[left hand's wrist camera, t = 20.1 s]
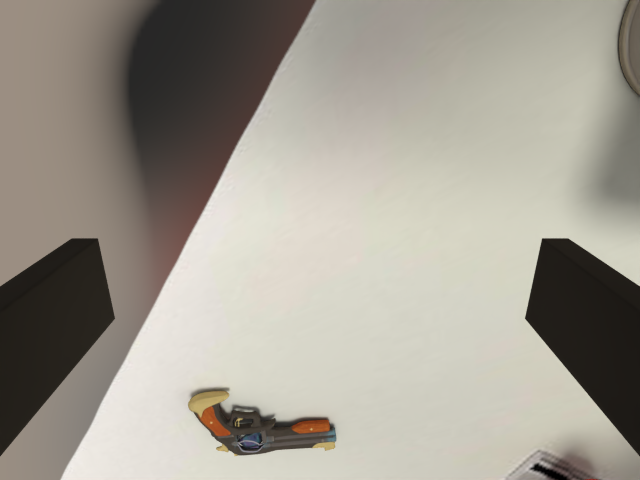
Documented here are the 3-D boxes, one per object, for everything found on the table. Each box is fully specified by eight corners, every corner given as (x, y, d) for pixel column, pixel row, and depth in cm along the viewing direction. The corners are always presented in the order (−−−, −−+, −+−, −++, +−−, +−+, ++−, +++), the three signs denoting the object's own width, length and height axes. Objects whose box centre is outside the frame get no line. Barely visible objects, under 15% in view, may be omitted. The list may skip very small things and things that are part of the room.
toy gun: (184, 402, 53) (194, 467, 55) (334, 390, 54) (337, 455, 56) (189, 389, 55) (199, 452, 58) (332, 378, 56) (335, 440, 59)
